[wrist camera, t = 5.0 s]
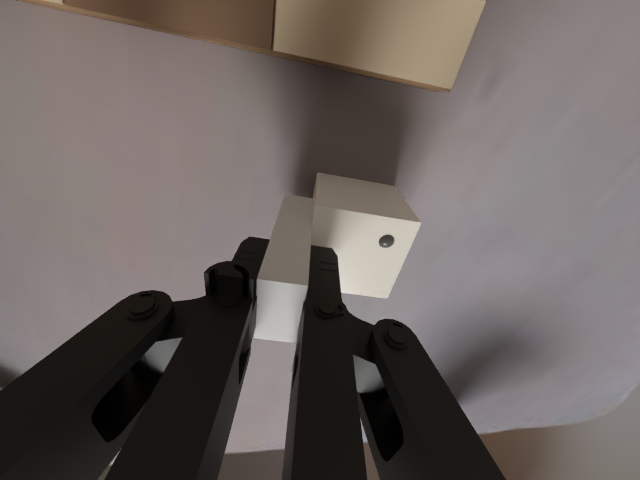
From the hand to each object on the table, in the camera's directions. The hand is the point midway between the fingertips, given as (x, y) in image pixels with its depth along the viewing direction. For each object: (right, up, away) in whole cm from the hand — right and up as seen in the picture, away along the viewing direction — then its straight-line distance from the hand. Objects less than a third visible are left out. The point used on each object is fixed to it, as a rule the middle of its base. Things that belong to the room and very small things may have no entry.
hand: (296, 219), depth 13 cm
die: (+3, +1, +2) cm, 4 cm away
